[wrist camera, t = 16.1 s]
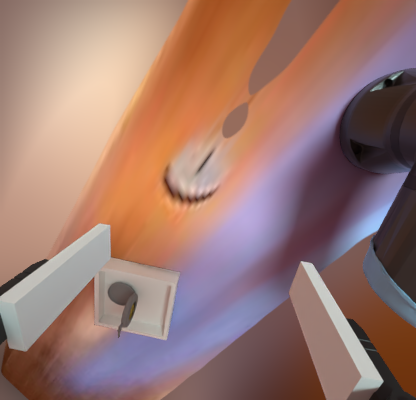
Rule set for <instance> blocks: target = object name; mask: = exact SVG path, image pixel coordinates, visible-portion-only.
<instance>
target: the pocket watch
mask: <svg viewBox="0 0 416 400" xmlns="http://www.w3.org/2000/svg"><path fill="white" fill-rule="evenodd" d="M108 296H109V298H110V299H111V301H113V302H114V303H116V304H118V305H121V306H125V307H124V310H123V314H122V318H121V325H119V327H118V338H119V337H120V331H121V330H122V327H123V328H125V327H128V326H129V324H130V322H131V320H132V318H133V316H134V313H135V310H136V306H137V302H138V295H137V294H136V293H135V291H134V289H133V288H132V287H131V286H130V285H128V284H126V283H122V282H118V283H114V284H112V285H111V286H110V287H109V289H108Z"/></svg>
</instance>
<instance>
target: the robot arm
mask: <svg viewBox="0 0 416 400" xmlns="http://www.w3.org/2000/svg"><path fill="white" fill-rule="evenodd" d="M340 143H341V147H342V150H343V152H344V154H345V156H346V157H347V158H348V160H349V161H350V162H351V163H353V164H354V165H355V166H357V167H359V168H361V169H364V170H367V171H371V172H374V173H382V174H392V173H401V172H409V174H408V176H407V178H406V180H405V182H404V183H403V185H402V187H401V188H400V190H399V192H398V194H397V196H396V198H395V200H394V202H393V203H392V205H391V207H390V209H389V211H388V213H387V215H386V217H385V218H384V220H383V222H382V224H381V226H380V228H379V230H378V232H377V234H376V235H374V236H373V237H372V239H371V241H370V247H369V250H368V252H367V254H366V257H365V259H364V262H363V271H364V273H365V276H366V277H367V280H368V283H369V284H370V286H371V287H372V289H373V290H374V291H375V293H376V294H377V295H378V296H379V297H380V298H381V299H382V300H383V301H384V302H385V303H386V304H387V305H388V306H389V307H390V308H391V309H392V310H393V311H394V312H396V313H397V314H398V315H399V316H400V317H402V318H403V319H404V320H405V321H407V322H408V323H410V324H411V325H412V326H414V327H416V68H411V69H405V70H401V71H397V72H394V73H391V74H388V75H385V76H383V77H380V78H378V79H377V80H375V81H373V82H372V83H370V84H369V85H367V86H366V87H365V88H364V89H363V90H361V91H360V92H359V93H358V94H357V96H356V97H355V98H354V99H353V101H352V102H351V103H350V105H349V106H348V108H347V110H346V112H345V114H344V117H343V119H342V123H341V128H340ZM110 259H111V245H110V225H106V224H100V223H99V224H98V225H96V226H95V227H94V228H92V229H91V230H90V231H88V232H87V233H86V234H84V235H83V236H82V237H80V238H79V239H77V240H76V241H75V242H73V243H72V244H71V245H69V246H68V247H67V248H65V249H64V250H63V251H61V252H60V253H58V254H57V255H56V256H54V257H53V258H52V259H50V260H46V259H44V260H42V261H39V262H37V263H35V264H33V265H31V266H30V267H28V268H27V269H25V270H24V271H23V272H22V273H20V274H18V275H17V276H15V277H14V279H11V280H10V281H8V282H7V283H5V284H4V285H2V286H1V287H0V344H1V343H2V342H4V341H5V340H6V339H7V341H8V345H9V348H12V349H17V350H21V351H27V350H28V349H29V348H30V347H31V346H32V344H33V343H34V342H35V341H36V340H37V339H38V338H39V337H40V336H41V335H42V333H43V332H44V331H45V330H46V329H47V328H48V327H49V326H50V325H51V324H52V322H53V321H54V320H55V319H56V318H57V317H58V316H59V315H60V314H61V312H62V311H63V310H64V309H65V308H66V307H67V306H68V305H69V304H70V303H71V301H72V300H73V299H74V298H75V297H76V296H77V295H78V294H79V293H80V292H81V290H82V289H83V288H84V287H85V286H86V285H87V284H88V283H89V282H90V281H91V279H92V278H93V277H94V276H95V275H96V274H97V273H98V272H99V271H100V270H101V268H102V267H103V266H104V265H105V264H106V263H107V262H108V261H109V260H110ZM289 295H290V298H291V301H292V304H293V307H294V309H295V312H296V315H297V318H298V321H299V323H300V326H301V329H302V332H303V335H304V338H305V340H306V343H307V346H308V349H309V352H310V355H311V357H312V360H313V363H314V366H315V369H316V371H317V374H318V377H319V380H320V382H321V386H322V388H323V391H324V393H325V397H326V400H416V398H415V397H413V396H411V395H410V394H408V393H407V392H404V391H403V390H402V388H401V386H400V385H399V383H398V382H397V380H396V379H395V377H394V376H393V374H392V373H391V371H390V370H389V368H388V367H387V365H386V364H385V362H384V361H383V359H382V358H381V356H380V355H379V353H378V352H377V350H376V348H375V347H374V345H373V344H372V343H371V342H370V340H369V338H368V336H367V335H366V333H365V332H364V330H363V329H362V328H361V327H360V326H359V325H358V324H357V323H356V322H355V321H354V320H352V319H347V318H345V317H344V315H343V313H342V312H341V310H340V308H339V307H338V305H337V303H336V302H335V300H334V298H333V297H332V295H331V294H330V292H329V290H328V289H327V287H326V285H325V284H324V282H323V280H322V279H321V277H320V275H319V274H318V272H317V270H316V269H315V267H314V265H313V264H312V263H308V262H303V261H301V262H300V264H299V267H298V269H297V272H296V275H295V277H294V280H293V283H292V285H291V288H290V291H289Z"/></svg>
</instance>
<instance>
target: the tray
mask: <svg viewBox="0 0 416 400" xmlns="http://www.w3.org/2000/svg"><path fill="white" fill-rule="evenodd" d="M179 276H180V272H177V271H172V270H167V269H163V268H158V267H154V266H149V265H144V264H140V263H135V262H130V261H126V260H121V259H117V258H112V257H111V259H110V260H109V261H108V262H107V263H106V264H105V265H104V266H103V267H102V268H101V270H100V271H99V272H98V273H97V274H96V275H95V276H94V325H98V326H103V327H108V328H112V329H117V330H118V327H119V325H121V318H122V314H123V310H124V307H125V306H121V305H118V304H116V303H114V302H113V301H111V299H110V298H109V296H108V289H109V287H110V286H111V285H112V284H114V283H118V282H122V283H126V284H128V285H130V286H131V287H132V288H133V289H134V291H135V293H136V294H137V295H138V302H137V306H136V310H135V313H134V316H133V318H132V320H131V322H130V324H129V326H128V327H125V328H123V327H122V330H121V331H126V332H131V333H135V334H140V335H144V336H149V337H154V338H158V339H163V340H167V336H168V333H169V329H170V324H171V319H172V314H173V308H174V303H175V298H176V292H177V287H178V282H179Z"/></svg>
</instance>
